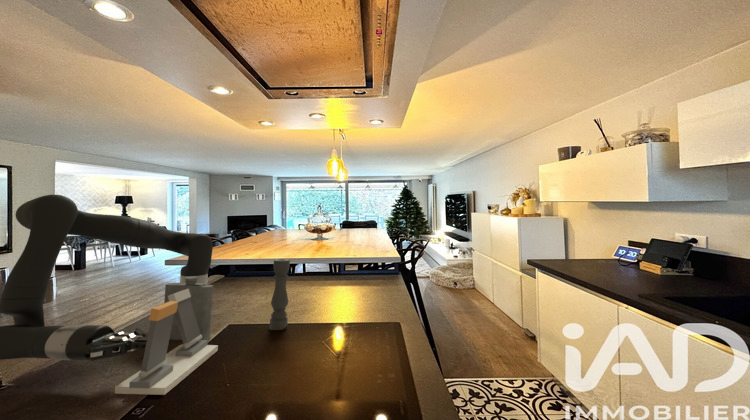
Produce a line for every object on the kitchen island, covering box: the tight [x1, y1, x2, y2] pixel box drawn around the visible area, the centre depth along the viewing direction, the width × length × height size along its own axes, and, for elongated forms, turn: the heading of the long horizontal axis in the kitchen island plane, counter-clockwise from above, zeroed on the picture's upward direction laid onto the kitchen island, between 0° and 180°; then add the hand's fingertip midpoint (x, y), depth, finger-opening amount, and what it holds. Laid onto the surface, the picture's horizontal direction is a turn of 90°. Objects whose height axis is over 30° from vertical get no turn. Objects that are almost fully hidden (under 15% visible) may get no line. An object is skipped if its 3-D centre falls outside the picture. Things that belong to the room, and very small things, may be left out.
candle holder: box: [269, 258, 291, 330], centre depth 105 cm, size 6×6×25 cm
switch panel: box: [114, 340, 219, 396], centre depth 74 cm, size 11×23×3 cm, turn 1°
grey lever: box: [168, 289, 202, 349], centre depth 82 cm, size 2×6×16 cm, turn 2°
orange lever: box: [139, 301, 178, 379], centre depth 67 cm, size 2×6×16 cm, turn 1°
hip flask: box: [163, 276, 214, 342], centre depth 93 cm, size 16×4×20 cm, turn 85°
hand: (154, 343), depth 67 cm, fingers closed
